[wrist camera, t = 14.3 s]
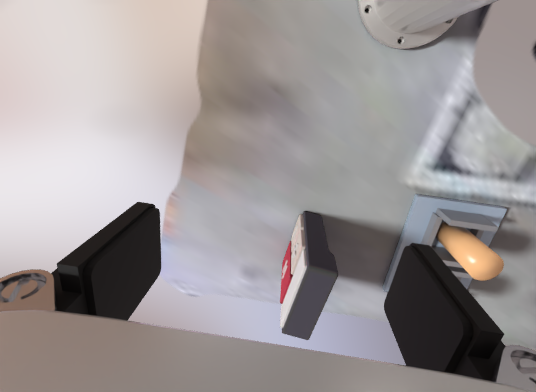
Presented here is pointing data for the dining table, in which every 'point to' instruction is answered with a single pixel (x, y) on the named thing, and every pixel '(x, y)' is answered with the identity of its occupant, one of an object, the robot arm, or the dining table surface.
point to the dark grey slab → (306, 277)
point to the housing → (453, 213)
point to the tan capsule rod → (470, 252)
